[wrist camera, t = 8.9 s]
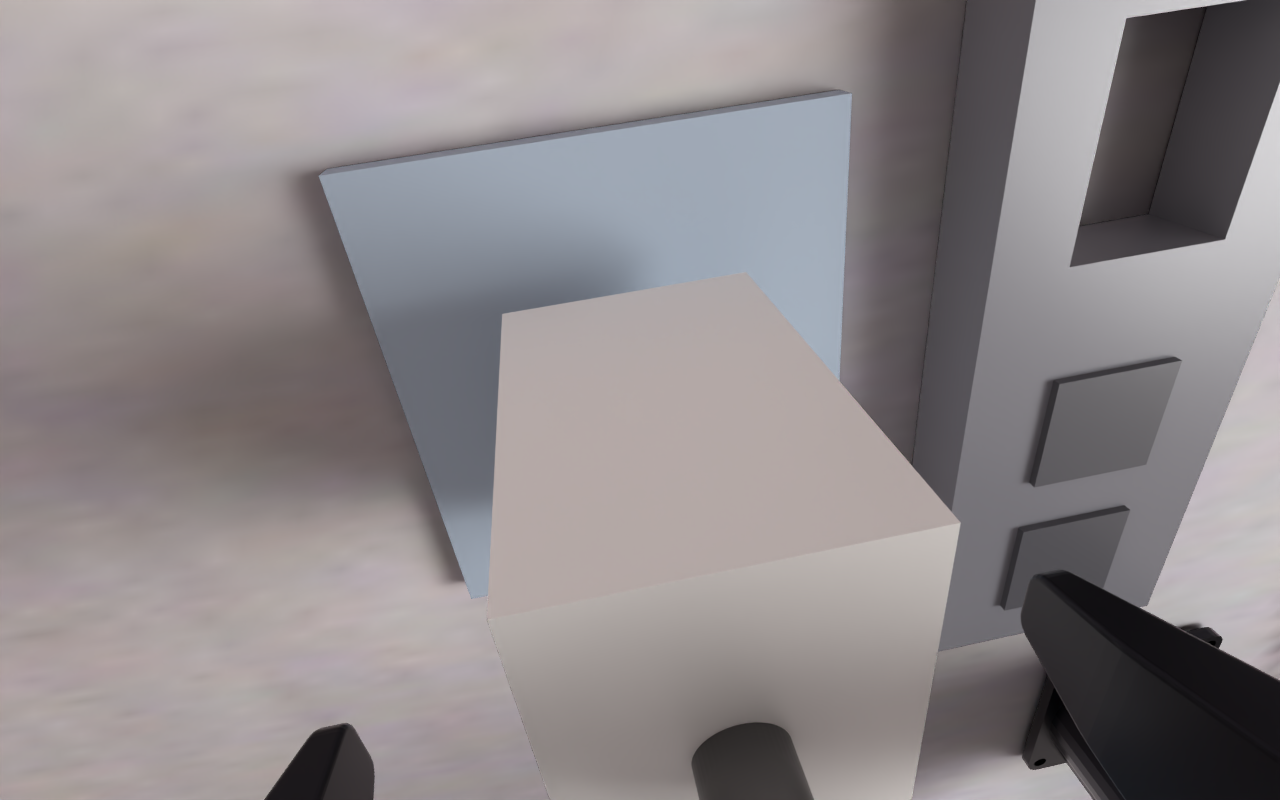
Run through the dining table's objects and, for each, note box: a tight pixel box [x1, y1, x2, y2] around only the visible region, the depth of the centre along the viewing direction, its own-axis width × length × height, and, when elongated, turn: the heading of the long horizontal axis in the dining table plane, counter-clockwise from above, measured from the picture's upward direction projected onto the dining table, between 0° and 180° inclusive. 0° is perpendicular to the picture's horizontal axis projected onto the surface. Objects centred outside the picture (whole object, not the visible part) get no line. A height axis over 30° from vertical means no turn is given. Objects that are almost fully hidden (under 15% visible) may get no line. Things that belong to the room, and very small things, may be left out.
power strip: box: [912, 0, 1280, 652], centre depth 14 cm, size 24×7×3 cm, turn 7°
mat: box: [319, 90, 852, 599], centre depth 15 cm, size 11×10×1 cm
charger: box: [487, 272, 961, 800], centre depth 11 cm, size 6×4×10 cm
